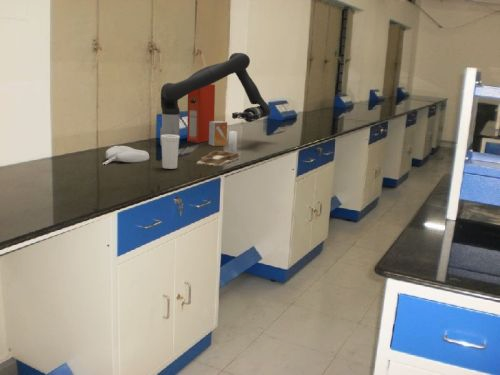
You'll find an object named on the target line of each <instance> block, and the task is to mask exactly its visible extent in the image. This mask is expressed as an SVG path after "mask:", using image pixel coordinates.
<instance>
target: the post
mask: <svg viewBox="0 0 500 375" xmlns="http://www.w3.org/2000/svg"><path fill="white" fill-rule="evenodd" d="M237 142H238V131H237V130H229V131H228V148H227V149H228V151H227V152H232V153H237V146H238V145H237V144H238V143H237Z"/></svg>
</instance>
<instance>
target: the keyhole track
mask: <svg viewBox="0 0 500 375" xmlns="http://www.w3.org/2000/svg"><path fill="white" fill-rule="evenodd" d="M238 159H239V153H238V152H236V153H232V152H228V151H222V150H221V151H220V150H214V151H210V152H208V153H207V155H204V156H201V157H200V160H198V161H197V162H196V164H197V165H203V164H204V166H211V165H213V166H212V167H220V166H221V167H223V166H225V165H227V163H228V164H229V162H230V163H231V162H234V161H237V160H238Z"/></svg>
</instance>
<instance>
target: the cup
mask: <svg viewBox="0 0 500 375" xmlns="http://www.w3.org/2000/svg"><path fill="white" fill-rule="evenodd" d="M161 140H162V146H161V157H162V158H161V163H162V164H161V165H162V168H163V169H169V170H170V169H171V170H173V169H177V168H178V158H179V157H178V156H179V146H180V135H179V136H178V135H170V134H168V135H161ZM178 145H179V146H178Z"/></svg>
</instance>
